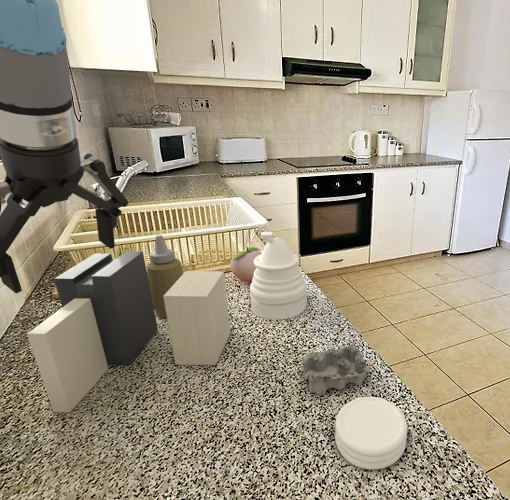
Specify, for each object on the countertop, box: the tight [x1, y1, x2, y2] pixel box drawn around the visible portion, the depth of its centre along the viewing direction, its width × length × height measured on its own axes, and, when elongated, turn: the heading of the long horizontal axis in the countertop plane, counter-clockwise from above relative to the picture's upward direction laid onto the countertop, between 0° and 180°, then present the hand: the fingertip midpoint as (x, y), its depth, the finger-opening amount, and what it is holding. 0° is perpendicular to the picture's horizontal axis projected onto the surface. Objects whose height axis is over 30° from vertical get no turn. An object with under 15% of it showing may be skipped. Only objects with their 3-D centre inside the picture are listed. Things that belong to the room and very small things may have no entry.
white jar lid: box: [334, 396, 408, 471], centre depth 52 cm, size 10×10×4 cm
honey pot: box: [249, 231, 308, 321], centre depth 84 cm, size 13×13×18 cm
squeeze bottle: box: [146, 234, 185, 319], centre depth 80 cm, size 8×8×18 cm
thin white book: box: [26, 298, 109, 413], centre depth 58 cm, size 2×10×14 cm, turn 2°
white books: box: [163, 270, 232, 366], centre depth 69 cm, size 7×10×14 cm
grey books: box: [53, 250, 159, 366], centre depth 68 cm, size 9×11×18 cm
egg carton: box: [300, 343, 371, 396], centre depth 64 cm, size 11×8×4 cm
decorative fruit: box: [229, 245, 262, 283], centre depth 97 cm, size 9×8×10 cm
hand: (64, 263), depth 56 cm, fingers open, 13 cm apart
